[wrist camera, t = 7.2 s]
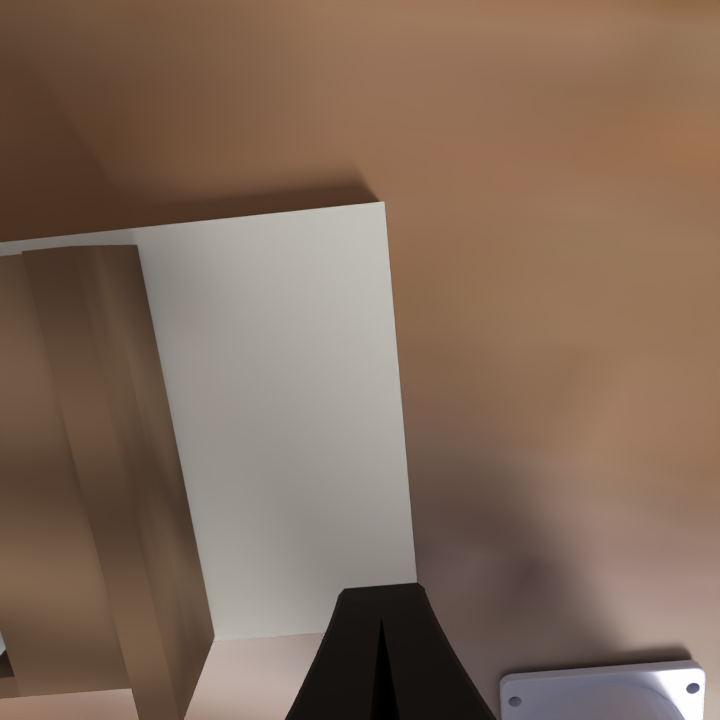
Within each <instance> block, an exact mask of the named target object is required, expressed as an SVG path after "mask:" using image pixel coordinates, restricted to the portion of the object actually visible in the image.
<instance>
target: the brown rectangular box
mask: <svg viewBox="0 0 720 720" xmlns="http://www.w3.org/2000/svg"><path fill="white" fill-rule="evenodd" d="M0 631H1V635H2V638H3V641H4V644H5V647H6V649H5V650H4V652H3V653H2V654H1V655H0V699H1V698H14V697H26V696H39V695H52V694H64V693H77V692H90V691H102V690H115V689H127V688H131V689H132V693H133V697H134V701H135V705H136V709H137V713H138V717H139V720H184V717H185V715H186V712H187V709H188V707H189V704H190V701H191V699H192V696H193V693H194V691H195V688H196V685H197V683H198V680H199V677H200V675H201V672H202V669H203V667H204V664H205V661H206V659H207V656H208V653H209V651H210V648H211V645H212V643H213V640H214V637H215V634H214V629H213V624H212V619H211V614H210V609H209V604H208V599H207V593H206V588H205V583H204V578H203V573H202V568H201V563H200V558H199V553H198V548H197V543H196V538H195V533H194V528H193V523H192V518H191V513H190V508H189V503H188V498H187V493H186V488H185V483H184V478H183V473H182V468H181V463H180V458H179V453H178V448H177V443H176V438H175V433H174V427H173V422H172V417H171V412H170V407H169V402H168V397H167V392H166V387H165V382H164V377H163V372H162V367H161V362H160V357H159V352H158V347H157V342H156V337H155V332H154V327H153V322H152V317H151V312H150V307H149V302H148V297H147V292H146V287H145V282H144V277H143V272H142V267H141V261H140V256H139V251H138V246H137V245H89V246H65V247H56V248H46V249H37V250H28V251H22V254H16V255H6V256H0Z"/></svg>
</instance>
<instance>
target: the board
mask: <svg viewBox="0 0 720 720" xmlns="http://www.w3.org/2000/svg"><path fill="white" fill-rule="evenodd" d="M89 245H137V246H138V251H139V256H140V261H141V267H142V272H143V277H144V282H145V287H146V292H147V297H148V302H149V307H150V312H151V317H152V322H153V327H154V332H155V337H156V342H157V347H158V352H159V357H160V362H161V367H162V372H163V377H164V382H165V387H166V392H167V397H168V402H169V407H170V412H171V417H172V422H173V427H174V433H175V438H176V443H177V448H178V453H179V458H180V463H181V468H182V473H183V478H184V483H185V488H186V493H187V498H188V503H189V508H190V513H191V518H192V523H193V528H194V533H195V538H196V543H197V548H198V553H199V558H200V563H201V568H202V573H203V578H204V583H205V588H206V593H207V599H208V604H209V609H210V614H211V619H212V624H213V629H214V634H215V637H214V640H213V642H215V641H228V640H240V639H252V638H264V637H277V636H289V635H301V634H313V633H326V630H327V628H328V625H329V622H330V620H331V617H332V614H333V611H334V608H335V605H336V602H337V598H338V595H339V594H340V593H341V592H342V591H343V590H344V588H356V587H368V586H380V585H392V584H404V583H416V582H417V575H416V563H415V552H414V540H413V529H412V517H411V506H410V494H409V483H408V471H407V459H406V448H405V436H404V425H403V413H402V402H401V390H400V379H399V367H398V355H397V344H396V332H395V321H394V309H393V298H392V286H391V274H390V263H389V251H388V240H387V228H386V217H385V205H384V202H375V203H366V204H356V205H347V206H337V207H328V208H319V209H309V210H300V211H290V212H281V213H272V214H262V215H253V216H244V217H234V218H225V219H215V220H206V221H197V222H187V223H178V224H168V225H159V226H150V227H140V228H131V229H121V230H112V231H103V232H93V233H84V234H75V235H65V236H56V237H46V238H37V239H28V240H18V241H9V242H0V256H6V255H16V254H22V251H28V250H37V249H46V248H56V247H65V246H89ZM5 649H6V647H5V644H4V641H3V638H2V635H1V631H0V655H1V654H2V653H3V652H4V650H5Z"/></svg>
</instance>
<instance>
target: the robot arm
mask: <svg viewBox="0 0 720 720" xmlns="http://www.w3.org/2000/svg"><path fill="white" fill-rule="evenodd" d="M705 679H706V675H705V671H704V670H703V669H702V667H701V666H700V665H699V664H698V662H696V661H694V660H682V661H670V662H657V663H644V664H631V665H619V666H606V667H593V668H580V669H567V670H555V671H542V672H529V673H516V674H509V675H506V676H505V677H503V678H502V680H501V681H500V704H501V720H703V708H704V693H705ZM511 697H516V698H513V699H512V698H511ZM285 720H497V719H496V718H495V716H494V715H493V713H492V712H491V710H490V709H489V707H488V706H487V704H486V703H485V701H484V700H483V698H482V697H481V695H480V693H479V692H478V690H477V688H476V687H475V685H474V684H473V682H472V680H471V679H470V677H469V676H468V674H467V672H466V671H465V669H464V667H463V666H462V664H461V663H460V661H459V659H458V657H457V656H456V654H455V652H454V650H453V649H452V647H451V645H450V643H449V641H448V640H447V638H446V636H445V634H444V632H443V630H442V628H441V626H440V624H439V622H438V620H437V618H436V616H435V614H434V612H433V610H432V608H431V605H430V603H429V600H428V598H427V595H426V592H425V589H424V588H423V587H422V586H421V585H420V584H419V583H417V582H416V583H404V584H392V585H380V586H368V587H356V588H344V590H343V591H342V592H341V593H340V594H339V595H338V598H337V602H336V605H335V608H334V611H333V614H332V617H331V620H330V622H329V625H328V628H327V630H326V633H325V635H324V637H323V640H322V642H321V645H320V647H319V649H318V652H317V654H316V656H315V659H314V661H313V663H312V665H311V667H310V669H309V671H308V673H307V676H306V678H305V680H304V682H303V684H302V686H301V688H300V690H299V693H298V695H297V697H296V699H295V701H294V703H293V705H292V707H291V709H290V711H289V713H288V714H287V716H286V718H285Z"/></svg>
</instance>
